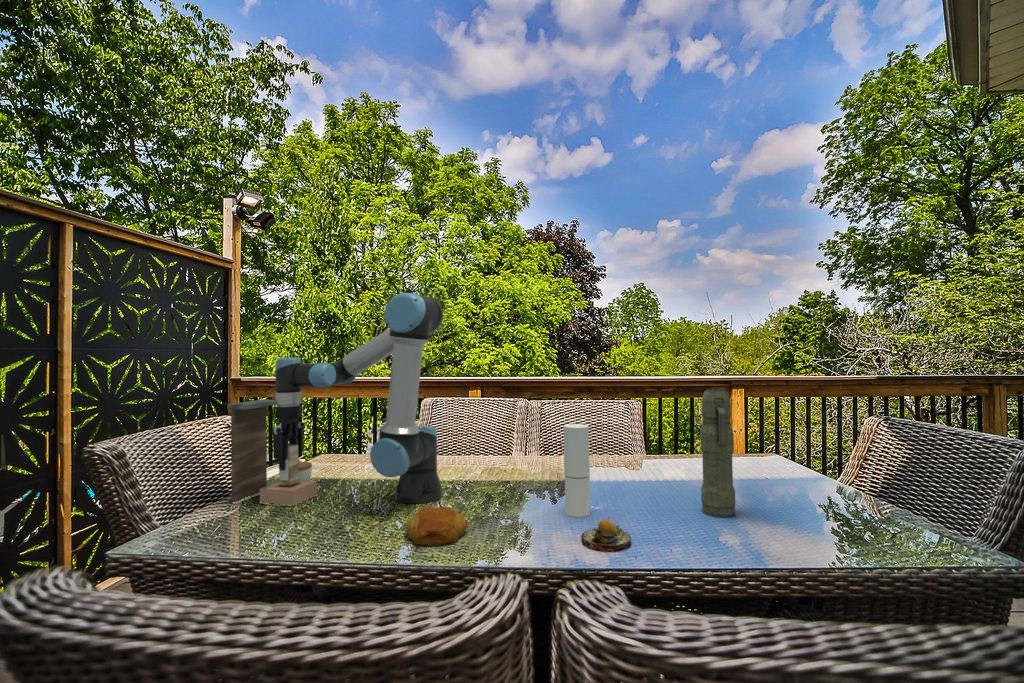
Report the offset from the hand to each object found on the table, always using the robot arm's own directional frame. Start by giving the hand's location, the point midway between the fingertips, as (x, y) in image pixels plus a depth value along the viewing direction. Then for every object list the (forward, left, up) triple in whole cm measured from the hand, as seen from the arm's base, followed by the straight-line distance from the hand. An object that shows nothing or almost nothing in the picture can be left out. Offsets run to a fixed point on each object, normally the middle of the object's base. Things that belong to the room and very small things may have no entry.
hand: (289, 478), depth 163 cm
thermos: (-131, -12, -7) cm, 132 cm away
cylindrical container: (-92, -4, -7) cm, 92 cm away
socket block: (0, 0, -7) cm, 7 cm away
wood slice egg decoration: (-101, +17, -8) cm, 103 cm away
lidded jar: (+9, -15, -7) cm, 19 cm away
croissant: (-58, +21, -8) cm, 62 cm away
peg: (0, 0, -2) cm, 2 cm away
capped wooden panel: (+12, 0, -7) cm, 14 cm away
